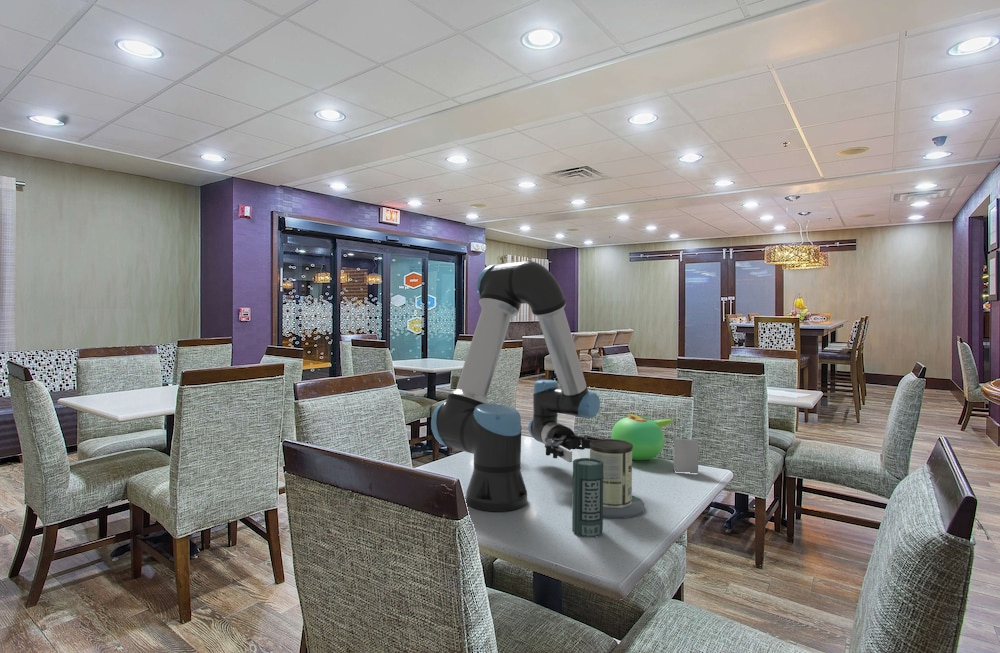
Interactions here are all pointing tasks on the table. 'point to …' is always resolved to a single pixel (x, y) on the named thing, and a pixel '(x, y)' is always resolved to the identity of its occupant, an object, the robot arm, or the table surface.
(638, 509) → the stoneware plate
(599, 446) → the coffee can
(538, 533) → the table surface
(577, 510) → the can
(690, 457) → the grey box
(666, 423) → the toy bird
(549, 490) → the table surface
